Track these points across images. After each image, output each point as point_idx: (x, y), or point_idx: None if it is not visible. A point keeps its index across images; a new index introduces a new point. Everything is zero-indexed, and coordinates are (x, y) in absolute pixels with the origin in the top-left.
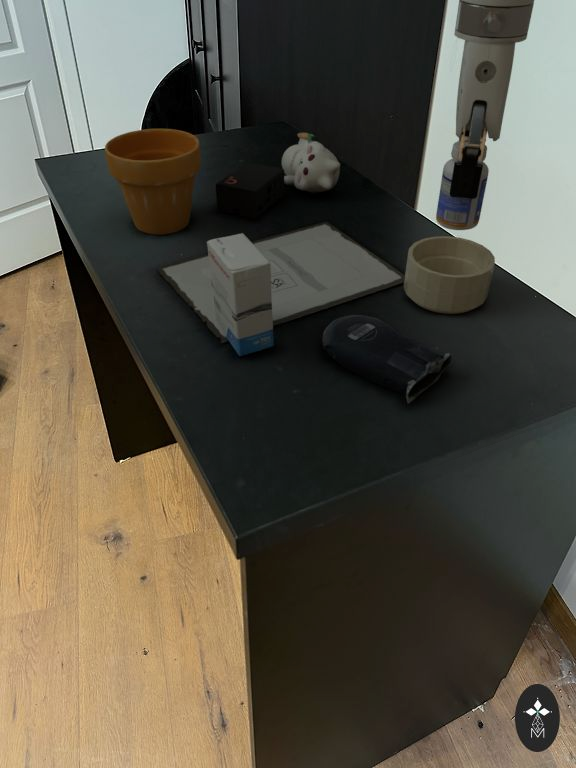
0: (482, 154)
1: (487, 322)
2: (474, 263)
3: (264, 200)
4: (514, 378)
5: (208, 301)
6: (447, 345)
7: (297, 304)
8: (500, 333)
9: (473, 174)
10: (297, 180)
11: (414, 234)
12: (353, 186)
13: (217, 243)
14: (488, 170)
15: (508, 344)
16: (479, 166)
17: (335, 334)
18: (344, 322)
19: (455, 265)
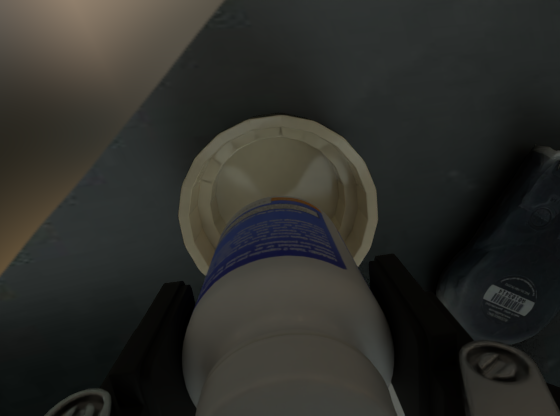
0: (551, 406)
1: (347, 99)
2: (214, 159)
3: None
4: (515, 28)
5: None
6: (441, 158)
7: (395, 395)
8: (378, 70)
9: (467, 339)
10: None
11: (63, 290)
12: None
13: None
14: (286, 269)
15: (411, 51)
16: (508, 351)
17: (524, 333)
18: (486, 330)
19: (213, 195)
